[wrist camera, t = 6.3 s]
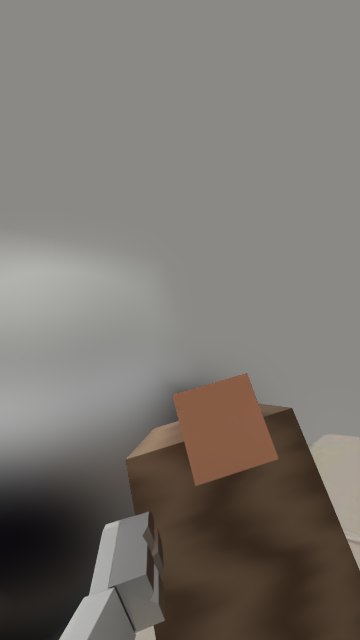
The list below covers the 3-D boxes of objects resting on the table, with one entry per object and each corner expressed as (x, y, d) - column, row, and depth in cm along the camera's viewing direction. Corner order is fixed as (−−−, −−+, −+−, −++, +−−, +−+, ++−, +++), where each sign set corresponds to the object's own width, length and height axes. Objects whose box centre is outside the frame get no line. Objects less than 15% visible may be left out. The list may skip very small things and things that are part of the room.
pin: (195, 485, 7) (172, 395, 8) (187, 418, 28) (181, 394, 29) (278, 459, 8) (247, 373, 8) (209, 411, 28) (202, 388, 29)
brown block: (294, 1457, 6) (125, 459, 15) (220, 737, 20) (153, 428, 28) (635, 1233, 7) (292, 407, 15) (342, 687, 20) (242, 401, 29)
